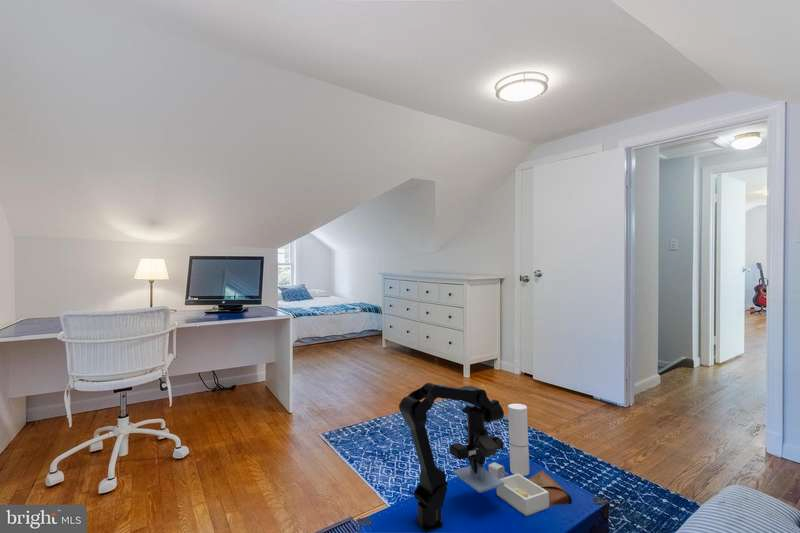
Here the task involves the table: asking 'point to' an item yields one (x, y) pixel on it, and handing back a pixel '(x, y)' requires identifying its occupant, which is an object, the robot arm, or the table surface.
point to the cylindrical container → (518, 439)
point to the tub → (523, 494)
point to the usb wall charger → (497, 470)
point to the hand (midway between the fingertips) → (477, 472)
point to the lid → (478, 478)
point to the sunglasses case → (551, 489)
